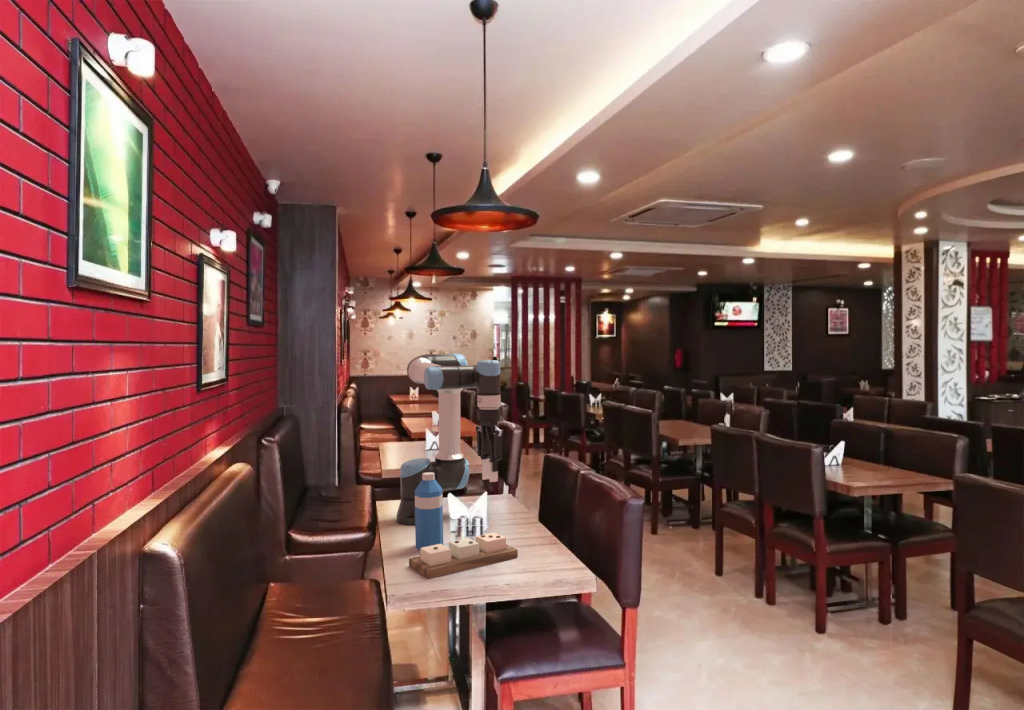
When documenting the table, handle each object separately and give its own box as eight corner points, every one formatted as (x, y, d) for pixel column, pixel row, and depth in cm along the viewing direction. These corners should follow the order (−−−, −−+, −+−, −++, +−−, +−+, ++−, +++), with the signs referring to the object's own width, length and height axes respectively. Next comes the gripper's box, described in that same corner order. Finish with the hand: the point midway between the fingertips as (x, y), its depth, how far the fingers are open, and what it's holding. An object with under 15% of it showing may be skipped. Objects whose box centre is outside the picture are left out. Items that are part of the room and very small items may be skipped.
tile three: (476, 548, 213) (475, 535, 213) (494, 544, 217) (494, 531, 217) (487, 554, 207) (487, 540, 207) (505, 549, 211) (505, 536, 211)
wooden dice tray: (409, 566, 203) (408, 558, 203) (495, 546, 221) (495, 539, 221) (428, 578, 192) (428, 570, 192) (517, 557, 210) (517, 549, 210)
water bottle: (449, 545, 223) (447, 472, 223) (431, 553, 216) (429, 477, 215) (428, 541, 229) (426, 469, 228) (409, 548, 221) (408, 474, 220)
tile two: (449, 554, 208) (448, 540, 207) (468, 550, 212) (467, 536, 211) (460, 560, 202) (459, 546, 202) (479, 555, 206) (479, 542, 206)
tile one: (420, 560, 202) (420, 546, 202) (440, 556, 206) (440, 542, 206) (430, 567, 196) (430, 552, 196) (451, 562, 200) (451, 548, 200)
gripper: (465, 406, 216) (466, 477, 217) (493, 411, 202) (494, 486, 203) (485, 405, 220) (486, 474, 221) (513, 409, 206) (514, 483, 207)
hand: (489, 480), depth 212 cm, fingers open, 4 cm apart
